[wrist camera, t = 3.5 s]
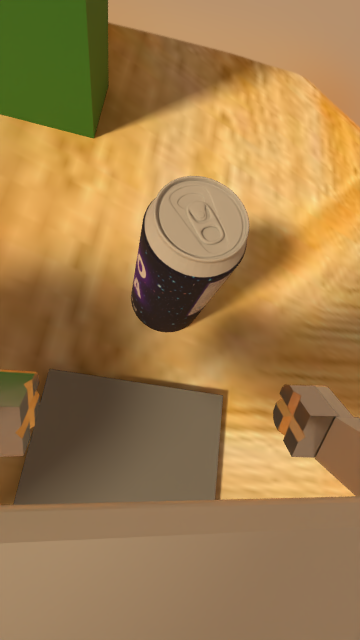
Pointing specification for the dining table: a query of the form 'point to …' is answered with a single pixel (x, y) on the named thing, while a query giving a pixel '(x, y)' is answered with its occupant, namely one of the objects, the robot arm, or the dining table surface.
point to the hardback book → (54, 62)
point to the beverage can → (186, 250)
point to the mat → (120, 443)
